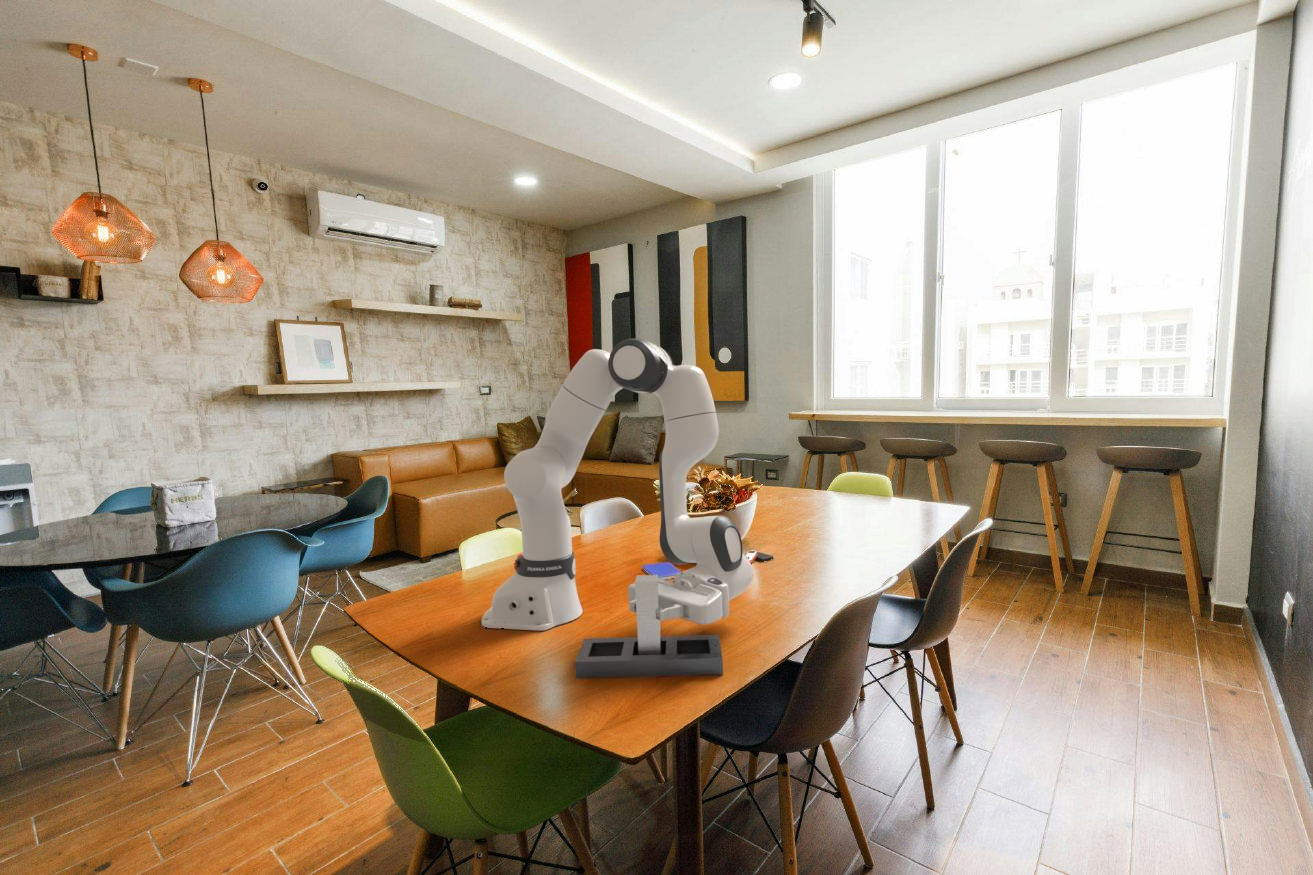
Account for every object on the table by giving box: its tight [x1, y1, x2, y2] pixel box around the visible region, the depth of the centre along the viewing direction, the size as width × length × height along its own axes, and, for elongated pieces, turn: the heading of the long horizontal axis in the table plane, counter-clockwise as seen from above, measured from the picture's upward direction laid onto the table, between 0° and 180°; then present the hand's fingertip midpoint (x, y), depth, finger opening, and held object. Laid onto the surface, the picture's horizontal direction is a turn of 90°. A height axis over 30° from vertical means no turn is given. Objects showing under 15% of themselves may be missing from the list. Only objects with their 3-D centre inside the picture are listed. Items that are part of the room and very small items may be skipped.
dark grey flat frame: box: [574, 634, 724, 679], centre depth 109 cm, size 26×10×3 cm, turn 88°
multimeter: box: [744, 549, 774, 564], centre depth 169 cm, size 18×12×3 cm, turn 121°
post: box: [634, 574, 662, 655], centre depth 108 cm, size 4×4×14 cm
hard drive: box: [641, 561, 682, 580], centre depth 164 cm, size 2×8×12 cm
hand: (644, 611), depth 107 cm, fingers closed on post, 5 cm apart
